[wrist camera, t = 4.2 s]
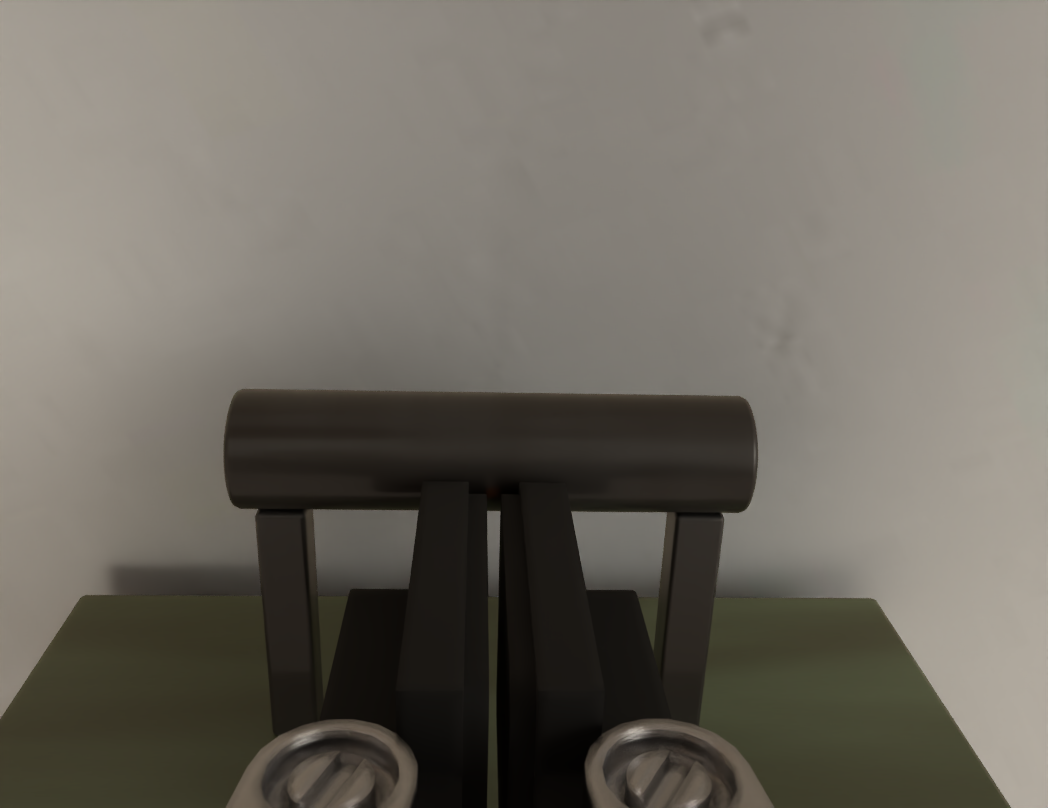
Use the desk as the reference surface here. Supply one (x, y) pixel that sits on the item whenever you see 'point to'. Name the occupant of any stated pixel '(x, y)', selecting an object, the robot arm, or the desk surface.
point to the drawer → (490, 468)
